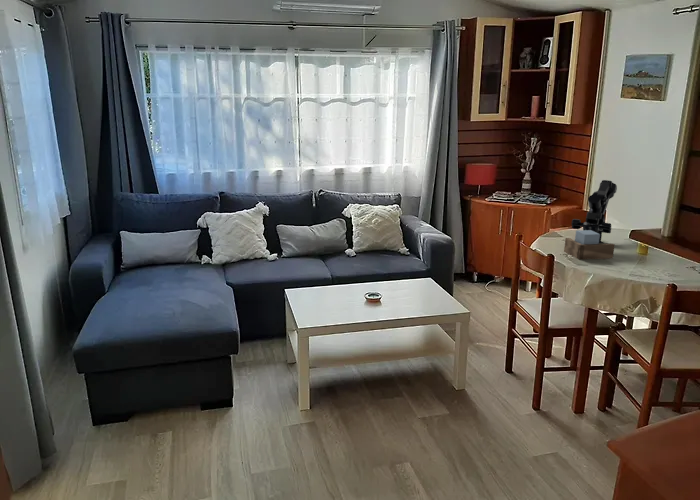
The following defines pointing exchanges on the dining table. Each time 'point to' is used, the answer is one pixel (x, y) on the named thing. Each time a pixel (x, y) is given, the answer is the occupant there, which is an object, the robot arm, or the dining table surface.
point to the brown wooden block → (588, 250)
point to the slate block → (587, 237)
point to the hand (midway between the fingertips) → (587, 239)
